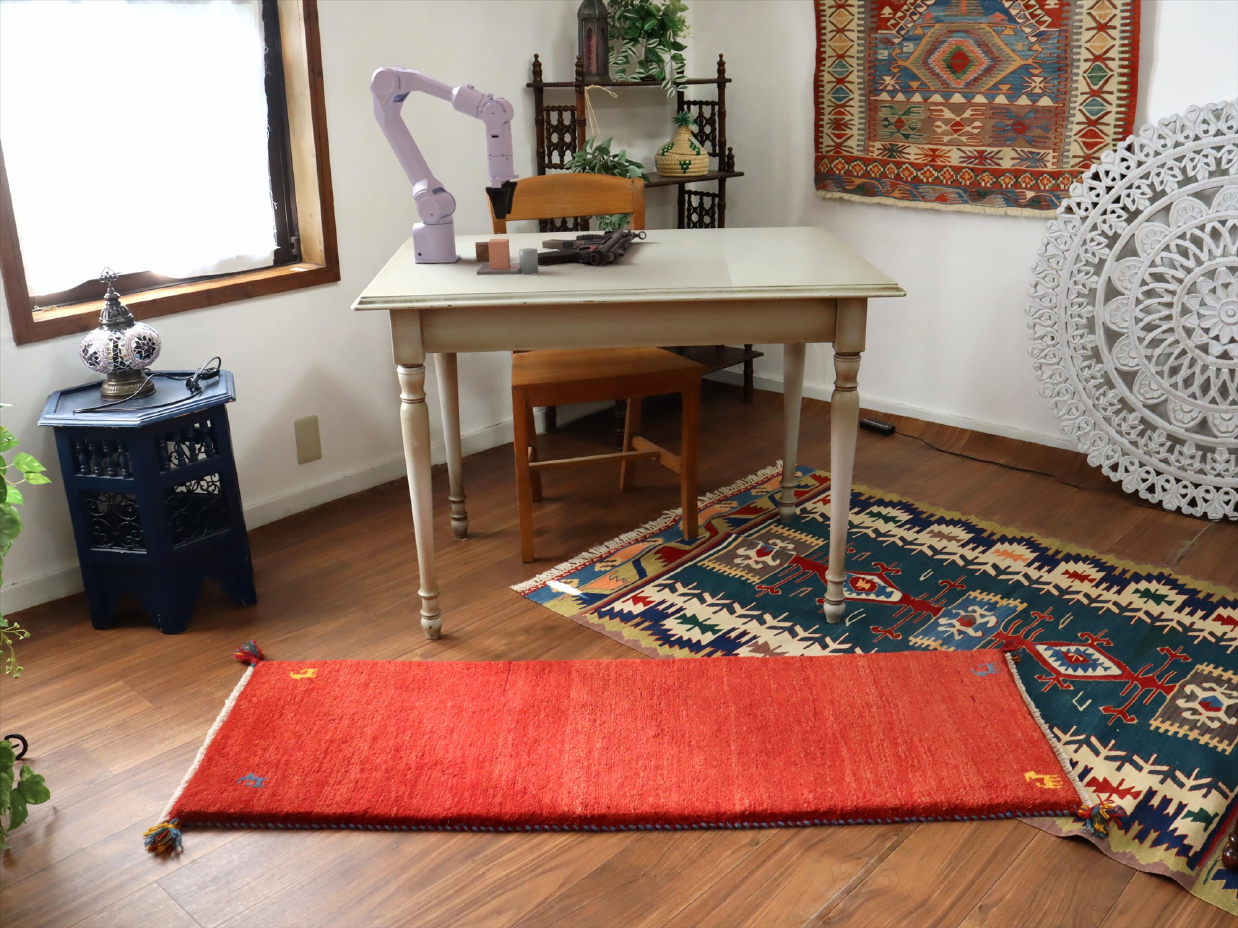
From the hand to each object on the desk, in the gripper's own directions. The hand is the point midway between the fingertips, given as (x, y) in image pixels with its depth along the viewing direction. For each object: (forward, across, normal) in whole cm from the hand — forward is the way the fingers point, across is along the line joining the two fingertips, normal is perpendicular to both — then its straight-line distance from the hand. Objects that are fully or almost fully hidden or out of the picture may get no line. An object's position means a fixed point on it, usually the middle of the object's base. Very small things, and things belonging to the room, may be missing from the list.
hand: (503, 216), depth 243 cm
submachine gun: (+11, +10, -18) cm, 23 cm away
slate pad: (+10, -10, 0) cm, 15 cm away
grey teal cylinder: (+10, -13, -7) cm, 18 cm away
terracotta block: (+10, -10, 0) cm, 14 cm away
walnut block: (+10, +3, +5) cm, 12 cm away
